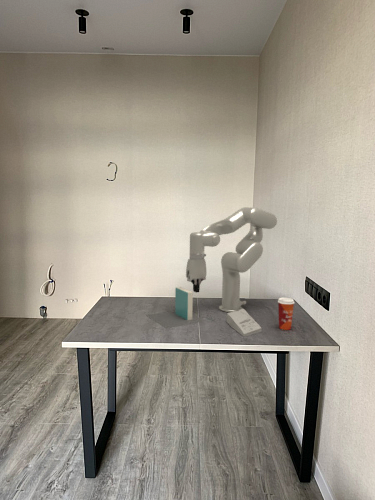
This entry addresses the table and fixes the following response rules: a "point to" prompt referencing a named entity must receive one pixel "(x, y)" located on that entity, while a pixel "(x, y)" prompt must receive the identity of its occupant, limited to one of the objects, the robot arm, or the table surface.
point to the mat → (172, 319)
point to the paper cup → (285, 313)
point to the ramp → (243, 323)
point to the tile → (183, 303)
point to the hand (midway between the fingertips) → (196, 291)
